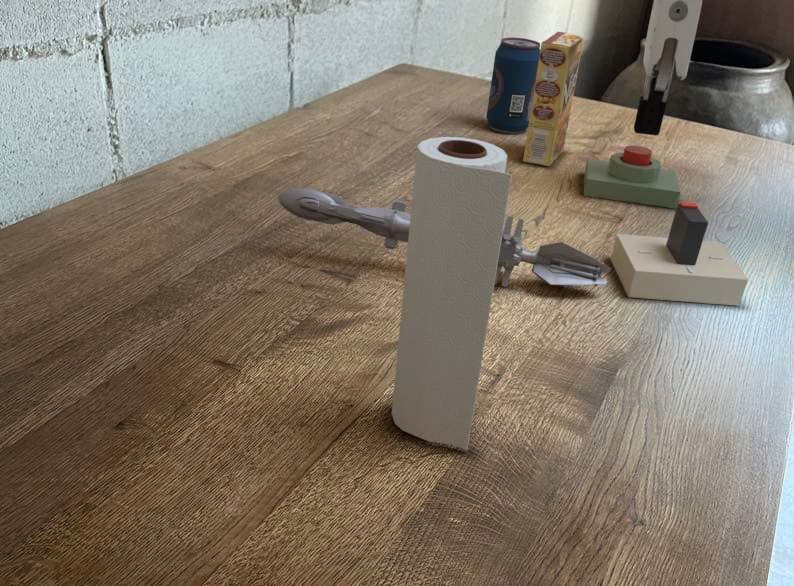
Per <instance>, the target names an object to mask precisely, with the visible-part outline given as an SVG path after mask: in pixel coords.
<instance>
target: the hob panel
mask: <svg viewBox="0 0 794 586" xmlns="http://www.w3.org/2000/svg"><path fill="white" fill-rule="evenodd" d="M615 235H616V236H615V239H614V242H613V243H614V244H613V246H612V247H613V248H612V252H611V255H610V261H611V264H612V266H613V268H614V270H615V272H616V274H617V276H618V278H619V281H620V283H621V285H622V287H623V289H624V291H625V294H626V295H627V297H628V298H634V299H645V300H661V301H670V302H671V301H673V302H685V303H697V304H710V305H723V306H737V307H739V306H740V305H741V301H742V298H743V296H744V293H745V290H746V287H747V285H748V282H749V278H748V276H746V273H744V271H743V270H742V269H741V267H740V266H739V265H738V263H737V262H736V260H735V259H734V257H732V254H730V252H729V251H728V250H727V248H726V247H725V245H724V244H723V243H722V242H721V241H711V240H708V241H707V240H703V242H702V245H701V248H700V251H699V255H698V258H697V261H696V264H695V265H689V264H677V262H676V261H675V259H674V257H673V256H672V254H671V252H670V251H669V249H668V247H667V246H666V244H667V240H668V237H661V236H660V237H659V236H649V235H636V234H625V233H616V234H615Z"/></svg>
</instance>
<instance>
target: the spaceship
mask: <svg viewBox="0 0 794 586" xmlns="http://www.w3.org/2000/svg"><path fill="white" fill-rule="evenodd" d="M278 202H279V204H280V205H281V206H282V208H284V209H285V210H286V211H287V212H289V213H291V214H293V215H294V216H296V217H298V218H302V219H304V220H308V221H313V222H317V223H322V224H327V225H331V226H333V225H338V224H342V223H349V224H353V225H357V226H359V227H361V228H363V229H364V230H366V231H368V232H369V233H372V234H374V235H376V236H379V237H383V238H385V240H384V242H383V246H385V248H386V249H391V250H394V249H398V246H399V242H403V243H408V238H409V227H410V217H411V213H409V212H406V209H407V206H406V203H405V202H404V201H403V200H398V199H395V200H393V202H392V206H391V208H388V207H384V206H373V207H372V206H371V207H359V206H355V205H351V204H349V203H347V202H346V201H345V200H344V199H342V198H341V197H340V196H338V195H336V194H333V193H328V192H324V191H319V190H316V189H312V188H307V187H292V188H288V189H285V190H283V191H282V192H280V193H279V195H278ZM505 221H506V222H505V223H504V228H503V234H502V240H501V246H500V252H499V258H498V265H497V271H496V277H495V283H494V285H497V283H498V280H499V277H500V274H501V271H502V269H504V271H503V276H502V281H501V287H505V288H507V287H508V284H509V280H510V278H511V276H512V272H513V271H514V272H515V271H516V270H514V268H515V267H519V266H520V264H521V263H526V264H529V265H533V266H532V269H531V273H533V274H534V275H535V276H536V277H537V278H539V279H540V280H541V281H543V282H544V283H545V284H546V285H550V286H587V287H588V286H592V285H594V286H595V287H598V286H599V285H607V284H608V280H607V279H606V278H604V277H602V273H610V272H611V270H612V269H611V267H610V266H608V265H606V264H605V262H604V261H599V259H597V258H595V257H594V256H591V255H590V254H588V253H586V252H584V251H581V250H580V249H578V248H576V247H575V246H572V245H570V244H568V243H567V242H565V241H556V242H552V243H547V244H541V245H538V246H537V249H536V251H532V250H527V249H524V248H525V244H524V243H522V240H524V238H523V237H522V232H523V227H524V222H525V220H524V219H522V218H518V220H517V222H516V226H515V229H514V232H513V235H511V232H512V227H513V222H514V217H513V216H509V215H508V216H507V218H506V220H505Z"/></svg>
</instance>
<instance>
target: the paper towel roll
mask: <svg viewBox="0 0 794 586" xmlns="http://www.w3.org/2000/svg"><path fill="white" fill-rule="evenodd" d="M507 162H508V154H507V153H506V151H505V150H504V149H503V148H501V147H499V146H497V145H495V144H493V143H490V142H486V141H482V140H479V139H473V138H467V137H461V136H460V137H457V136H440V137H432V138H431V137H429V138H427V139H425V140H422V141H420V143H419V144H418V145H417V147H416V155H415V164H414V165H415V166H414V176H413V177H414V178H413V186H412V188H413V189H412V197H411V207H410V208H411V209H410V214H411V217H410V227H409V238H408V242H407V248H406V250H407V251H406V259H405V260H406V261H405V271H404V280H403V290H402V299H401V300H402V301H401V313H400V320H399V321H400V322H399V332H398V333H399V334H398V344H397V354H396V364H395V374H394V383H393V395H392V405H391V417H392V420H393V422H394V425H396V427H398V428H399V429H400V430H401V431H403V432H405V433H407V434H410V435H411V436H414V437H417V438H419V439H422V440H423V441H426V442H429V443H436V444H437V443H438V444H443V445H444V444H445V445H449V446H453V447H457V448H460V449H462V450H464V451H466V452H467V451H468V449H469V443H470V436H471V431H472V425H473V418H474V413H475V407H476V406H475V405H476V401H477V400H476V399H477V393H478V388H479V387H478V386H479V381H480V377H481V368H482V363H483V357H484V350H485V344H486V340H487V339H486V338H487V332H488V327H489V321H490V320H489V319H490V313H491V307H492V301H493V295H494V289H495V284H494V283H495V277H496V271H497V265H498V258H499V252H500V246H501V240H502V234H503V231H504V227H505V221H506V214H507V208H508V204H509V203H508V202H509V195H510V189H511V184H512V179H513V174H509V173H506V168H507Z"/></svg>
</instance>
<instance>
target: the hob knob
mask: <svg viewBox="0 0 794 586" xmlns="http://www.w3.org/2000/svg"><path fill="white" fill-rule="evenodd" d="M708 225H709V221H708V220H707V218H706V216H705V215H704V214H703V213H702V211H701V210H700V209H699V206H698V204H697V203H695V202H687V201H686V202H685V201H684V202H683V201H680V202H679V203H677V206H676V208H675V213H674V217H673V221H672V223H671V225H670V226H671V227H670V231H669V234H668V237H667V238H668V240H667V244H666V246H667V247H668V249H669V251H670V252H671V254H672V256H673V257H674V259H675V261H676V262H677V264H689V265H695V264H696V261H697V258H698V255H699V251H700V248H701V245H702V242H703V241H704V239H705V235H706V231H707V230H708Z"/></svg>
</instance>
